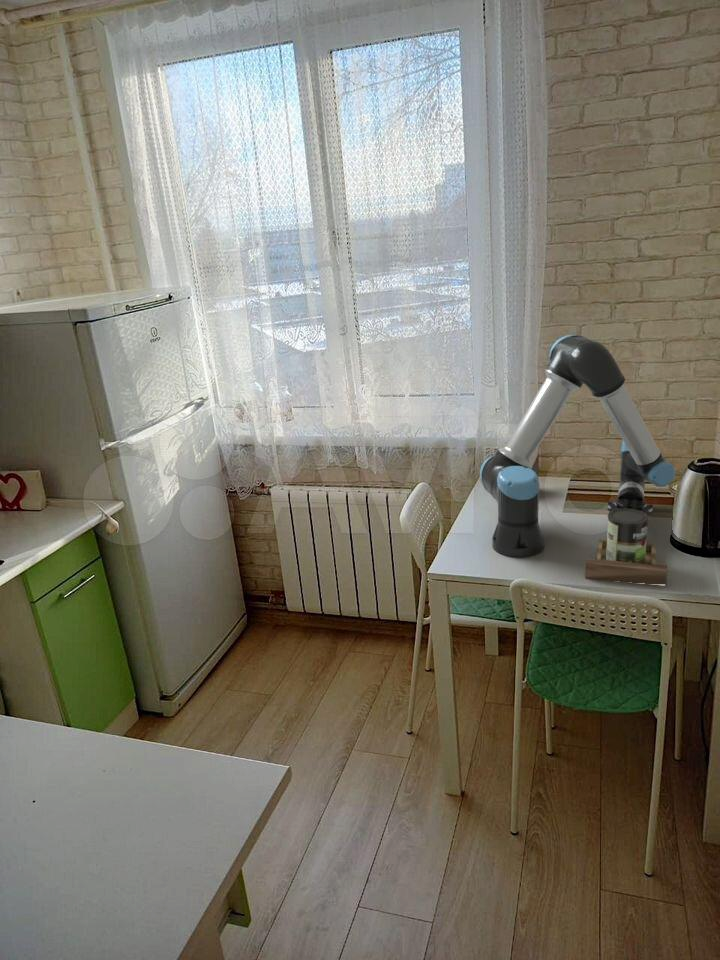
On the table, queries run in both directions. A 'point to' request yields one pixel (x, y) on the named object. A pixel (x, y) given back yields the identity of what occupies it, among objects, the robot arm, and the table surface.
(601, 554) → the brown wooden tray
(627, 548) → the coffee can
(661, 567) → the block
